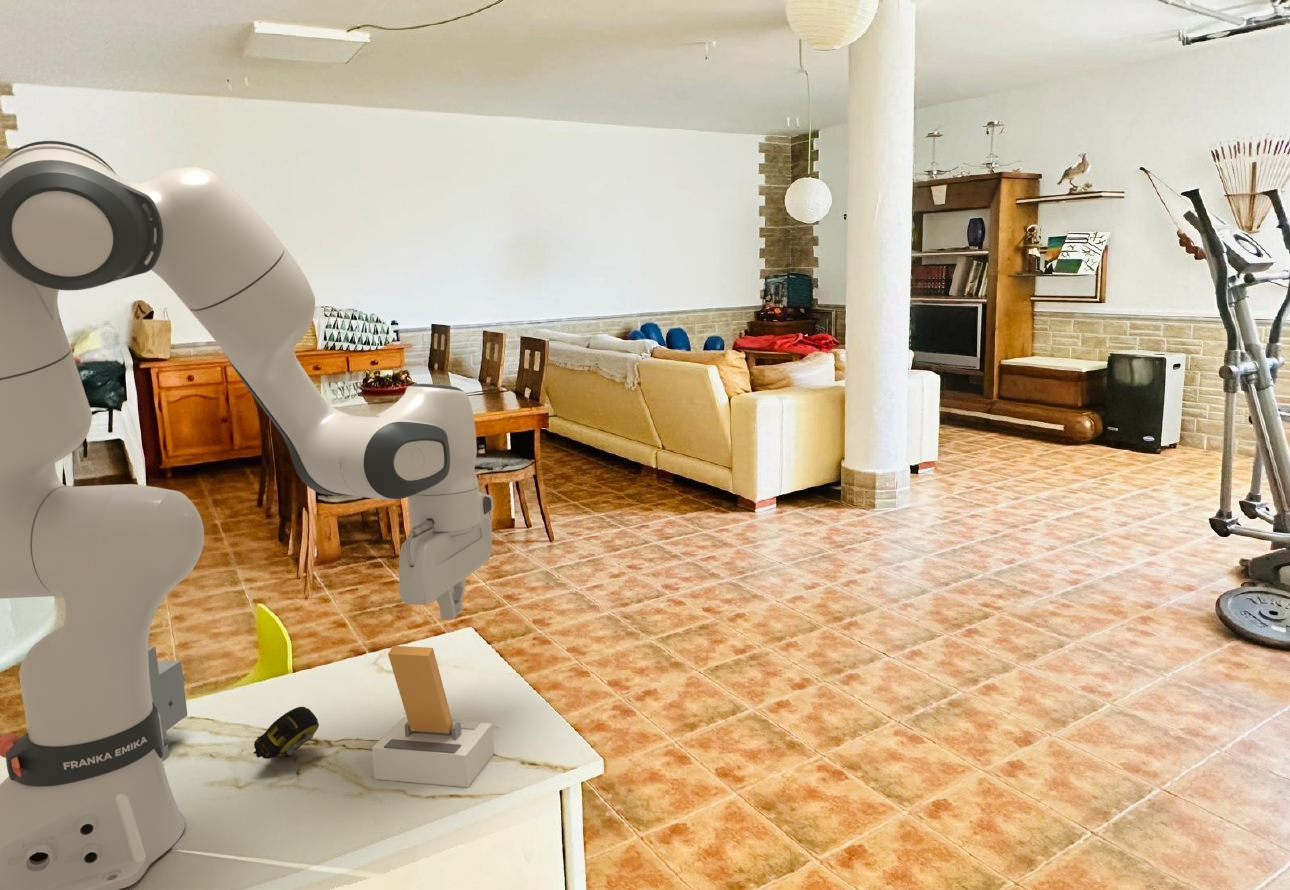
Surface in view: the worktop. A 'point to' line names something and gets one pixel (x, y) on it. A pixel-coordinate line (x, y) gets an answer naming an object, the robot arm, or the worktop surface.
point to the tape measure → (287, 734)
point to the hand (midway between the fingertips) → (451, 616)
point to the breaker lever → (421, 690)
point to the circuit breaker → (167, 692)
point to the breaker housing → (434, 754)
